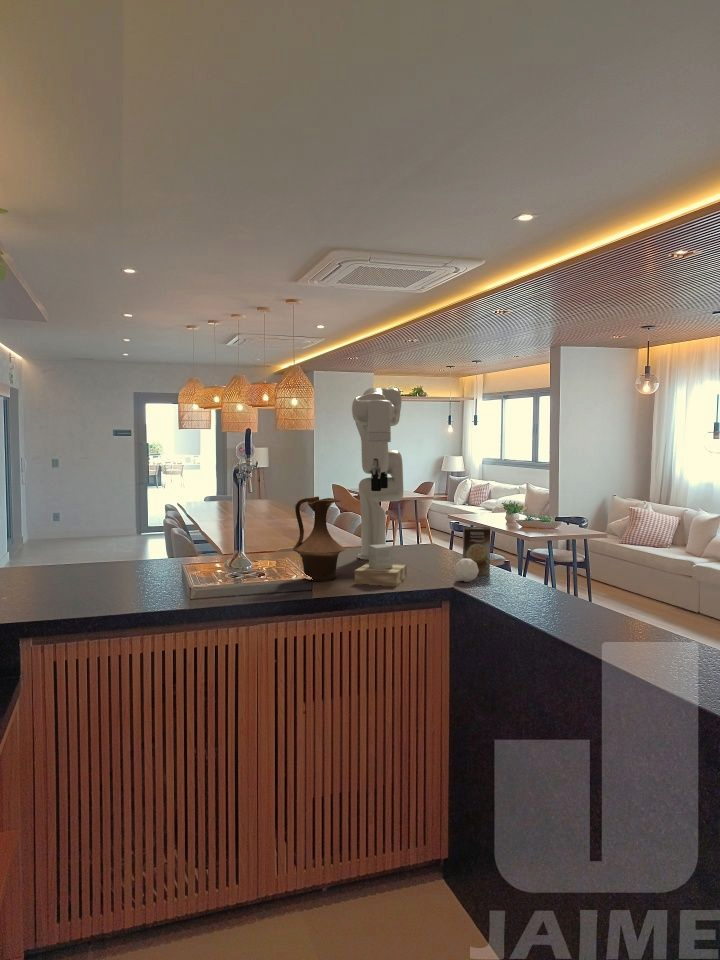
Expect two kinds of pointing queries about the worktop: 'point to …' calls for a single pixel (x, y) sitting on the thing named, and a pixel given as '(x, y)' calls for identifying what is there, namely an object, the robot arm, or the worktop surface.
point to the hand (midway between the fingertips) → (379, 489)
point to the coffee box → (477, 547)
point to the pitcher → (318, 542)
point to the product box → (380, 556)
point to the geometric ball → (466, 570)
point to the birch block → (381, 575)
